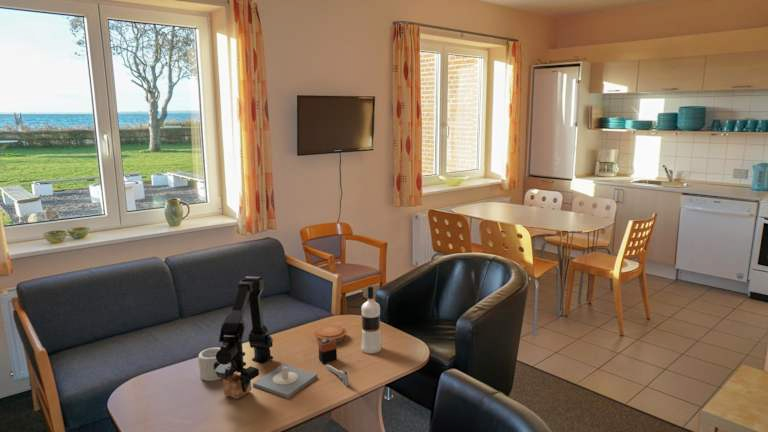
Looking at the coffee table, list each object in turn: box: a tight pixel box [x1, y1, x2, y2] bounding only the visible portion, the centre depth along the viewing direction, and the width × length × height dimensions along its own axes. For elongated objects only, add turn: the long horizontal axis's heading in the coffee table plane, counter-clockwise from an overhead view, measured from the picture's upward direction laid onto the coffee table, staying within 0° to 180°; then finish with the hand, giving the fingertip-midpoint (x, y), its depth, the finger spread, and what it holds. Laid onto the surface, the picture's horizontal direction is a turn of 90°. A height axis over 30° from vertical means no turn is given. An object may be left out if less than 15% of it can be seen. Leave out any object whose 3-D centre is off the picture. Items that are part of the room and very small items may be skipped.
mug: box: [197, 346, 222, 382], centre depth 215 cm, size 14×11×10 cm
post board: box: [252, 363, 318, 399], centre depth 208 cm, size 18×18×6 cm
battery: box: [318, 338, 338, 365], centre depth 225 cm, size 4×7×10 cm, turn 120°
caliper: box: [324, 363, 350, 388], centre depth 213 cm, size 20×1×6 cm, turn 31°
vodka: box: [360, 286, 383, 355], centre depth 233 cm, size 9×9×30 cm
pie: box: [313, 324, 347, 344], centre depth 247 cm, size 15×16×5 cm
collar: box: [222, 372, 252, 400], centre depth 200 cm, size 7×7×6 cm
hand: (237, 389), depth 200 cm, fingers closed on collar, 7 cm apart
